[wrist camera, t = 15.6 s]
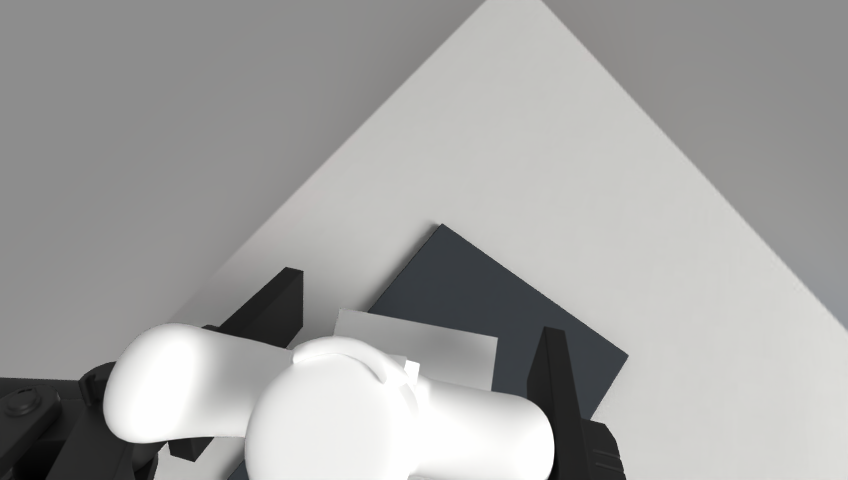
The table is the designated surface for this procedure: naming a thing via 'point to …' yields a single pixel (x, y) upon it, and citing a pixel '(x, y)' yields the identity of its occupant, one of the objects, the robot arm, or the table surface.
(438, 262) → the mat
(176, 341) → the figurine
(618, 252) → the table surface
